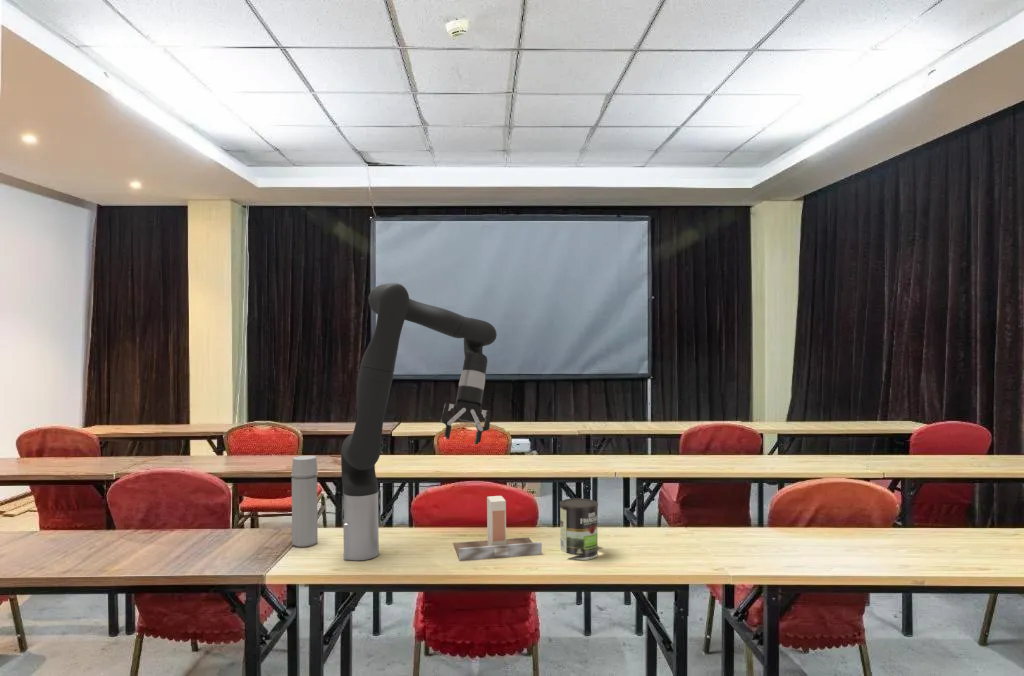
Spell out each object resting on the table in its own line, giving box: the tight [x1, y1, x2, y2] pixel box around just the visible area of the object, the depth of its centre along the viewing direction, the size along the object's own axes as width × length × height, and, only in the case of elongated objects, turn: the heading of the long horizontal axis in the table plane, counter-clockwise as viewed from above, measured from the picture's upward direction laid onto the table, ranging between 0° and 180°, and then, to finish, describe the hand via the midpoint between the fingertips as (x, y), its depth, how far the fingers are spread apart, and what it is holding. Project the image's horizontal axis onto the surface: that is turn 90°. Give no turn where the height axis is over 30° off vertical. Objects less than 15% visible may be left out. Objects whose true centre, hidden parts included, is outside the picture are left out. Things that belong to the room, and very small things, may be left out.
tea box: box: [486, 495, 507, 546], centre depth 177 cm, size 4×6×14 cm, turn 13°
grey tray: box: [452, 537, 543, 562], centre depth 178 cm, size 22×15×4 cm
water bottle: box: [290, 455, 319, 548], centre depth 190 cm, size 9×8×25 cm
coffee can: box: [559, 497, 599, 561], centre depth 178 cm, size 10×10×14 cm
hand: (462, 441), depth 190 cm, fingers open, 8 cm apart
